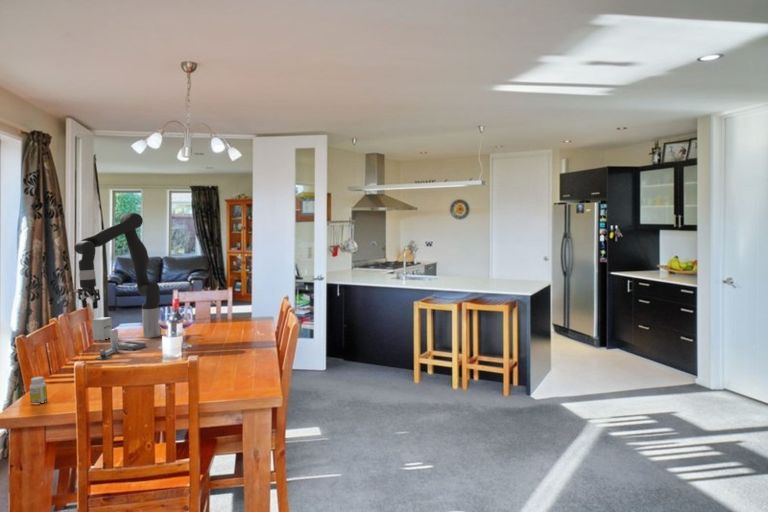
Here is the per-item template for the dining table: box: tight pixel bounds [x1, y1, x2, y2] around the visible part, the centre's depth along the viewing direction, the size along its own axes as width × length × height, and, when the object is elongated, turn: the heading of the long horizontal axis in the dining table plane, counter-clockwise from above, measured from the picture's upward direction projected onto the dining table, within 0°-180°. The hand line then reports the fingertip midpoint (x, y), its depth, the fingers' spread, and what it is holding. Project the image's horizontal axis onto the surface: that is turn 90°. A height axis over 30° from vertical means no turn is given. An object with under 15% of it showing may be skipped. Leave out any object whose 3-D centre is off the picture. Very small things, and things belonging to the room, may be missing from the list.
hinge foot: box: [96, 355, 113, 361], centre depth 260 cm, size 6×6×1 cm
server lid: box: [118, 340, 147, 351], centre depth 281 cm, size 9×14×2 cm, turn 65°
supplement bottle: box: [29, 376, 48, 404], centre depth 195 cm, size 5×5×10 cm
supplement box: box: [92, 316, 113, 342], centre depth 303 cm, size 7×7×13 cm
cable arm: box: [99, 328, 120, 357], centre depth 266 cm, size 14×4×11 cm, turn 0°
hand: (90, 308), depth 275 cm, fingers open, 8 cm apart
